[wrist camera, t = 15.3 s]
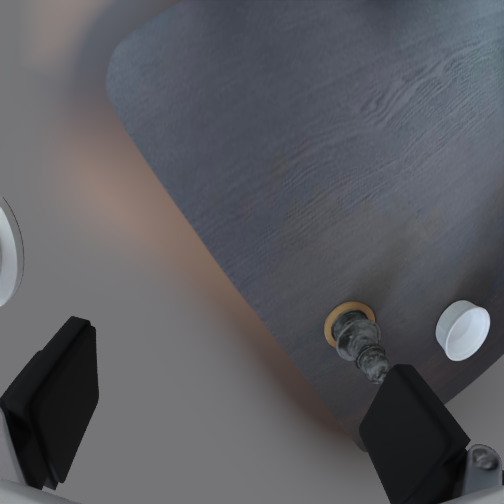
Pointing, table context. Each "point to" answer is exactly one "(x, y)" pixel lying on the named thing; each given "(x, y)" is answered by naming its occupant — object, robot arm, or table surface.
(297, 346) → the table surface
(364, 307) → the coaster
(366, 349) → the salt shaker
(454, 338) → the ramekin
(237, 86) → the table surface
